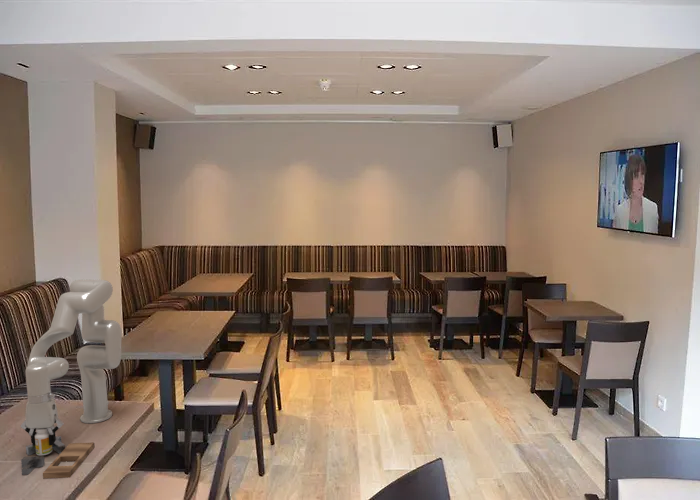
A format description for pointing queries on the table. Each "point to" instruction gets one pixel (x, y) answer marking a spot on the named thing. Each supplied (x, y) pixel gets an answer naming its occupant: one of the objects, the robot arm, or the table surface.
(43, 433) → the supplement bottle
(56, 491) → the table surface
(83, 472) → the table surface
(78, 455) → the block with square hole
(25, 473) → the gray tee-shaped block
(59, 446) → the vee block
